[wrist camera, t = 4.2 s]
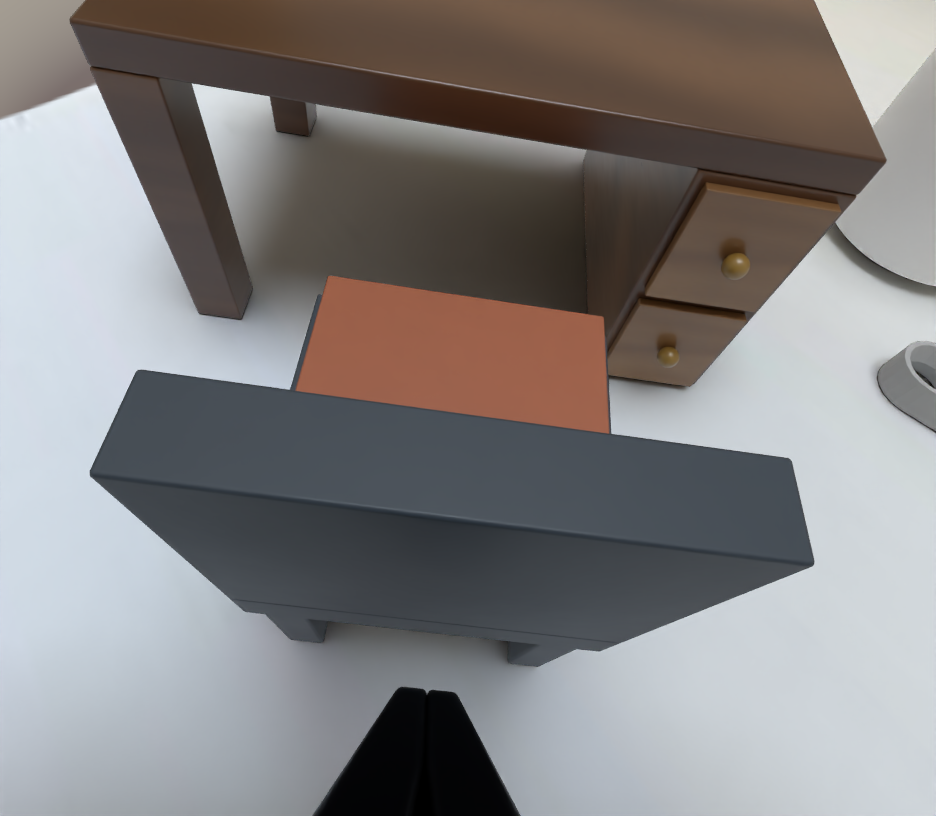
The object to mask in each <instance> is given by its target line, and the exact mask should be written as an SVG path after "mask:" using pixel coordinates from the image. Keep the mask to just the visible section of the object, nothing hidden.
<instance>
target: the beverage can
mask: <svg viewBox="0 0 936 816" xmlns="http://www.w3.org/2000/svg"><path fill="white" fill-rule="evenodd" d="M872 128H873V130H874V133H875V135H876V137H877V139H878V141H879V143H880V146H881V148H882V150H883V152H884V154H885V157H886V159H887V161H886V164H885V165H884V166H883V167H882V168H881V169H880V171H879V172H878V173H877V174H876V175H875V176H874V177H873V179H872V180H871V181H870V182H869V183H868V184H867V185H866V187H865V188H864V189H863V190H862V191H861V192H860V193H859V194H858V195H856V199H855V200H854V201H853V202H852V203H851V205H850V206H849V207H848V208H847V209H846V210H845V211H844V213H843V214H842V215H841V216H840V217H839V218H838V220H837V221H836V222H835V223H836V224H837V226H838V227H839V229H840V230H841V231H842V233H843V234H844V235H845V236H846V238H847V239H848V240H849V241H850V242H851V243H852V244H853V245H854V246H855V247H856V248H857V249H858V250H859V251H860V252H862V253H863V254H864V255H865V256H867V257H868V258H869V259H871V260H872V261H874V262H875V263H877V264H878V265H880V266H882V267H884V268H885V269H887V270H889V271H892V272H894V273H896V274H898V275H900V276H903V277H905V278H908V279H910V280H913V281H916V282H920V283H923V284H927V285H931V286H936V48H935V49H934V51H933V52H932V53H931V54H930V56H929V57H928V58H927V60H926V61H925V62H924V63H923V65H922V66H921V67H920V68H919V70H918V71H917V72H916V73H915V75H914V76H913V77H912V78H911V80H910V81H909V82H908V83H907V85H906V86H905V87H904V88H903V90H902V91H901V92H900V93H899V95H898V96H897V97H896V98H895V100H894V101H893V102H892V103H891V105H890V106H889V107H888V108H887V110H886V111H885V112H884V113H883V115H882V116H881V117H880V118H879V120H878V121H877V122H876V123H875V125H874V126H873V127H872Z"/></svg>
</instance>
